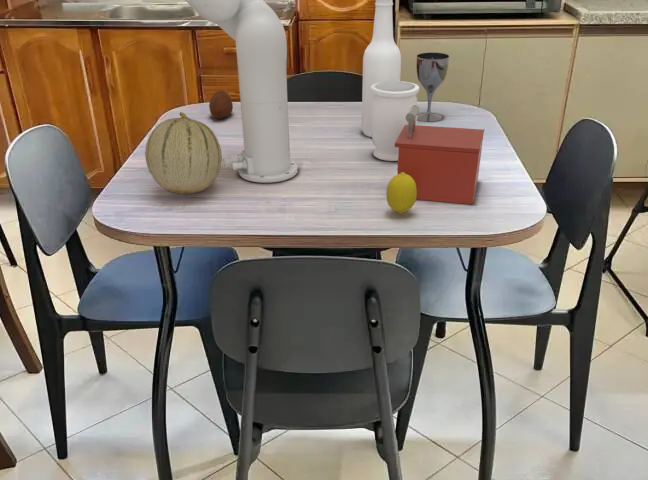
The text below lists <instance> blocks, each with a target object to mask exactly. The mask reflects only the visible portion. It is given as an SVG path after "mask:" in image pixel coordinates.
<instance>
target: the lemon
mask: <svg viewBox="0 0 648 480" xmlns="http://www.w3.org/2000/svg"><path fill="white" fill-rule="evenodd" d="M385 195H386V202H387V204H388V206H389V207H390V209H391V210H393V211H394V212H397V213H398V214H399V215H402V214H404V213H405V212H407V211H409V210H411V209H412V208H413V206H414V205H415V203H416V201H417V199H416V197H417V188H416V183H415V181H414V179H413V178H412V177H411V176H409V175H407V174H405V173H404V172H401V173H400V174H395V175H394V176H393V177H391V179H390V180H389V182H388V184H387V187H386V194H385Z"/></svg>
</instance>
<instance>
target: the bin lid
mask: <svg viewBox="0 0 648 480" xmlns="http://www.w3.org/2000/svg"><path fill="white" fill-rule="evenodd" d="M418 114H420V107H419V105H418V106H417V105H413V106H411V108H410V110H409V111H408V113H407V115H406V120H407V122H408V125H405V126H404V128H403V129H402V131H401V133H400V135H399V136H398V138H397V140H396V142H395V147H400V148H414V149H428V150H442V151H456V152H470V153H479V150H480V146H481V142H482V138H483V139H484V133H485V129H483V128H482V129H481V128H467V127H465V128H464V127H450V126H436V125H435V126H433V125H417V123H416V116H417V115H418ZM482 143H483V142H482Z"/></svg>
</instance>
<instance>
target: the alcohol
mask: <svg viewBox="0 0 648 480" xmlns="http://www.w3.org/2000/svg"><path fill="white" fill-rule="evenodd" d="M374 6H375V8H374V9H375V10H374V19H373V29H372V38H371V40H370V42H369V44H368V45H367V47H366V48H365V49H364V53H363V56H362V88H361V89H362V90H361V93H362V95H361V96H362V97H361V98H362V99H361V131H362V133H363V135H364V136H366V137H369V138H372V129H371V124H370V108H371V101H372V97H373V93H372V92H371V86H372V85H373V84H376V83H379V82H385V81H401V73H402V71H401V70H402V69H401V68H402V55H401V50H400V48H399V46H398V45H397V44H396V42H395V39H394V21H393V20H394V19H393V16H394V15H393V14H394V13H393V6H394V2H393V0H375V2H374Z"/></svg>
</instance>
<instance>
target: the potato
mask: <svg viewBox="0 0 648 480" xmlns="http://www.w3.org/2000/svg"><path fill="white" fill-rule="evenodd" d="M233 105H234V104H233V101H232V97H231V96H230V94H229V93H228V92H227V91H225V90H218V91H215V92H214V93H213V95H212V96H211V98H210V99H209V104H208V107H209V108H208V109H209V112H210V114H211V116H212V117H213V118H215V119H224V118H227V117H228V116H229V115H230V114H232V112H233V109H234V106H233Z"/></svg>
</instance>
